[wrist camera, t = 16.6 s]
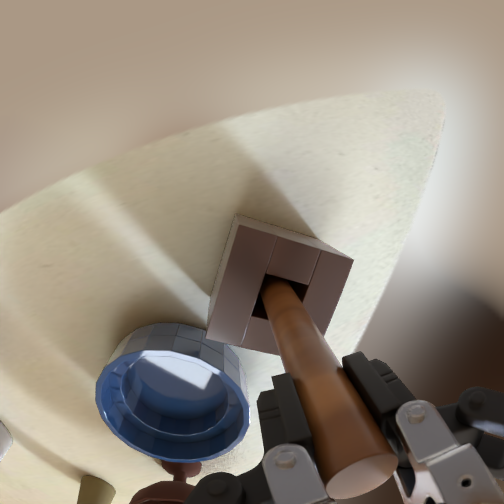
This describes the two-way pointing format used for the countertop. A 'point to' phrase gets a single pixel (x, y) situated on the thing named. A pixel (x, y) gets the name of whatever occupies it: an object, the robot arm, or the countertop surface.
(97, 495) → the cork
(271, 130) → the countertop surface
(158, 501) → the ice cream bowl
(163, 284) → the countertop surface
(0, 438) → the mug
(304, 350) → the stirring stick
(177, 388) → the blue round bowl
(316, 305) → the stand
